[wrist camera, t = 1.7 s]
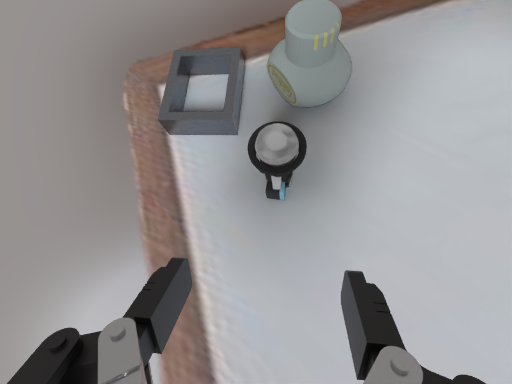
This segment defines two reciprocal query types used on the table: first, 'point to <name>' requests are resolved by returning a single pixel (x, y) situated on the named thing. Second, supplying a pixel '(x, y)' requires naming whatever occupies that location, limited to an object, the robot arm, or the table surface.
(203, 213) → the table surface
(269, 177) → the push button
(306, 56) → the air freshener
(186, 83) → the square socket
